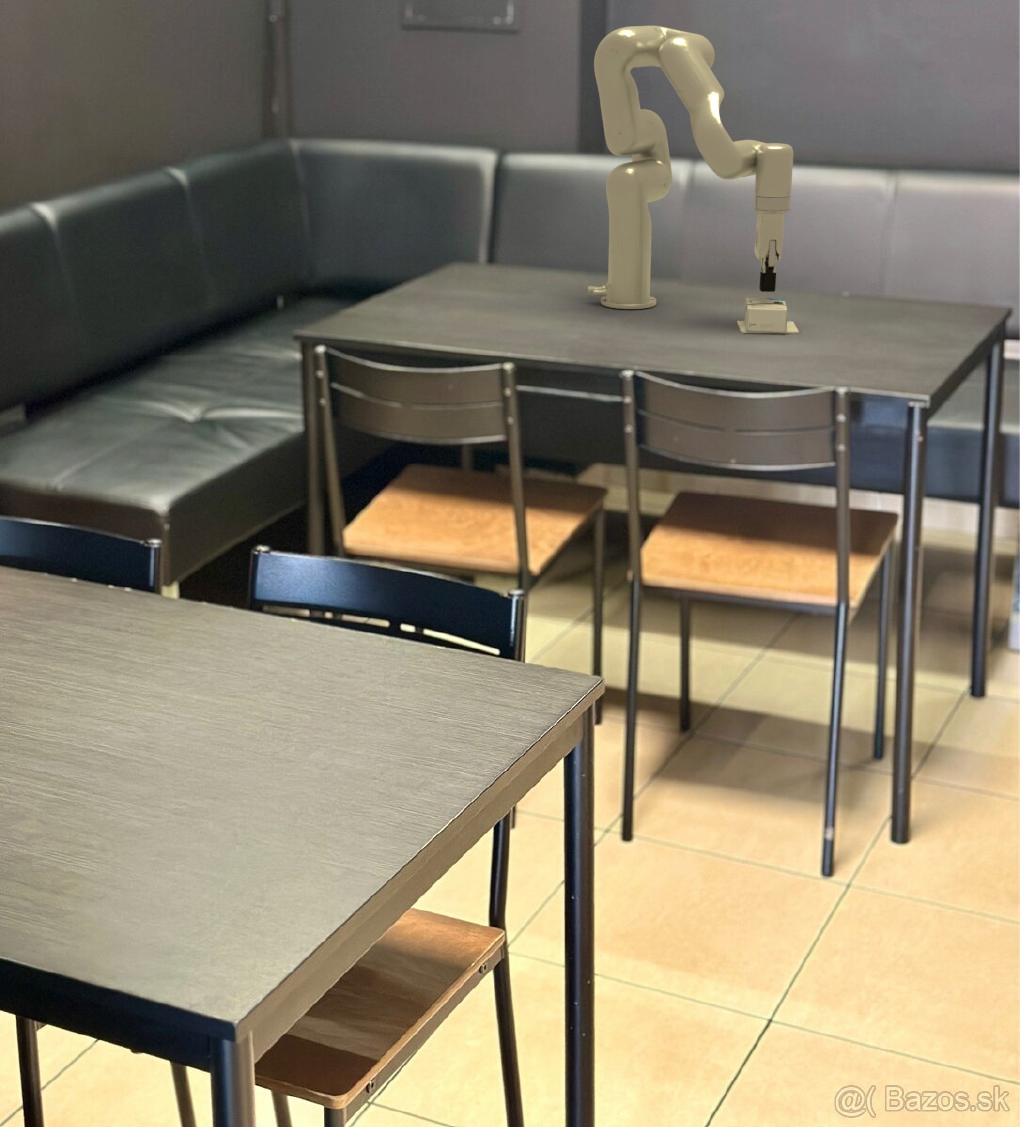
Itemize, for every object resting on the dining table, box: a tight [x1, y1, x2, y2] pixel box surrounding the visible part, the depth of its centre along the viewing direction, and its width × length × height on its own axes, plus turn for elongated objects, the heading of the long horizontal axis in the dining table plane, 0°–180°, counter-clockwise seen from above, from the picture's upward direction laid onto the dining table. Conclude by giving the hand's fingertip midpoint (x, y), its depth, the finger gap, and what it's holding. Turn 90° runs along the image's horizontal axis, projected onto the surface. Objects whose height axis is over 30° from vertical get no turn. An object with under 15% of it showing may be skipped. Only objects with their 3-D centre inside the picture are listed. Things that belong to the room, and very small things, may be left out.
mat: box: [736, 320, 800, 335], centre depth 339 cm, size 12×10×1 cm
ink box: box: [744, 297, 788, 332], centre depth 338 cm, size 8×5×12 cm
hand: (767, 290), depth 341 cm, fingers closed
